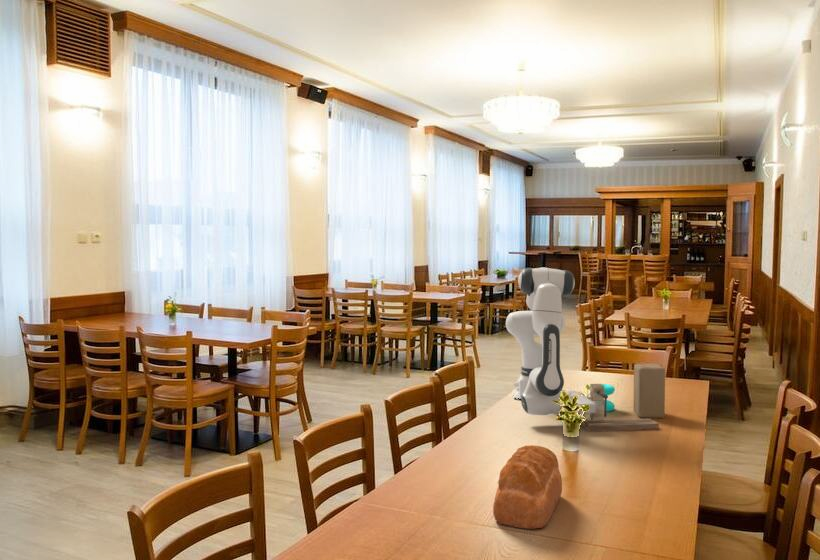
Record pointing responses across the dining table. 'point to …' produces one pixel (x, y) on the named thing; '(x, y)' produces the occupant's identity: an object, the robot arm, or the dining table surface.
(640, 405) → the grey rectangular block
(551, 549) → the dining table surface
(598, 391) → the gauge
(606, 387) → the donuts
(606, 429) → the board
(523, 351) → the robot arm
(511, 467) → the bread
